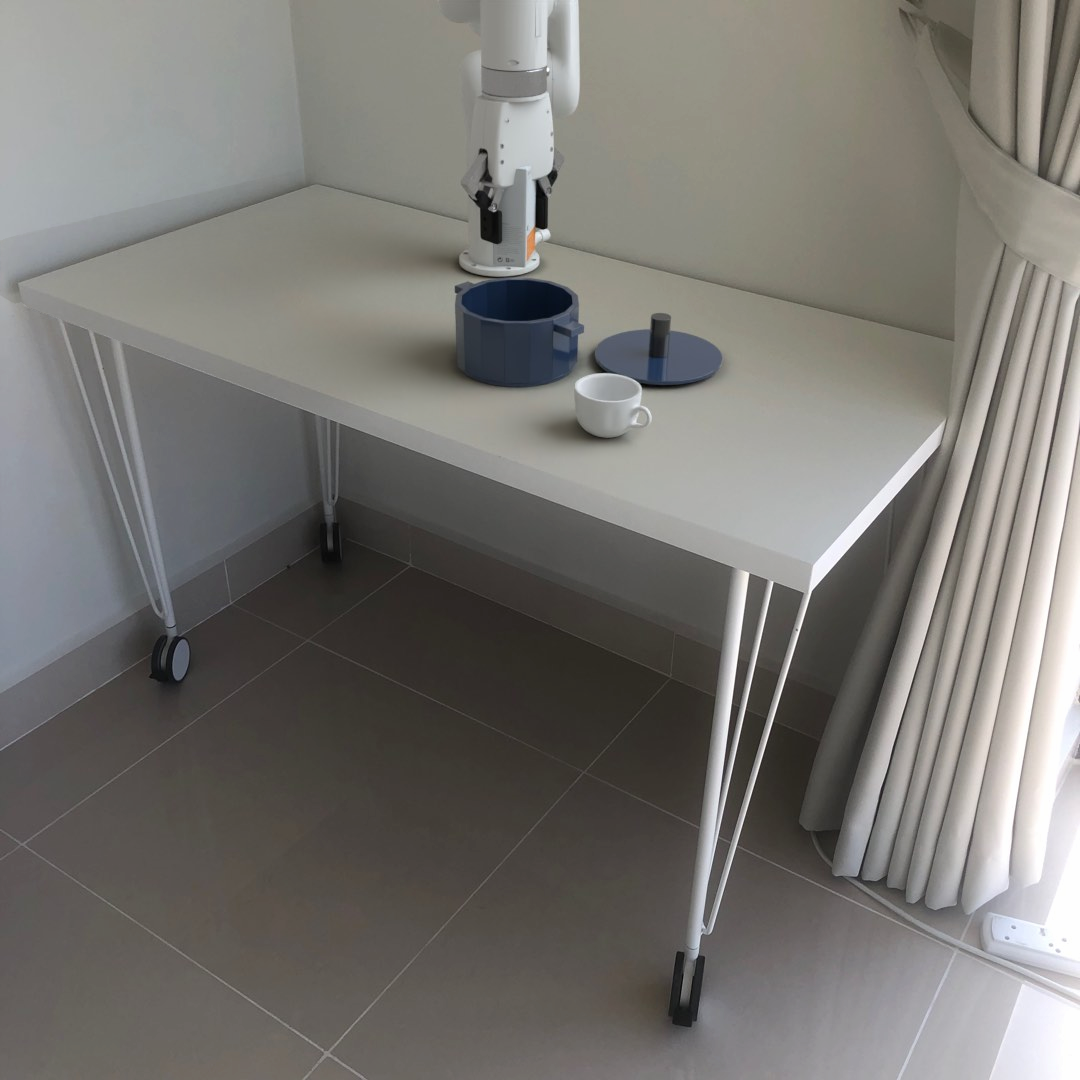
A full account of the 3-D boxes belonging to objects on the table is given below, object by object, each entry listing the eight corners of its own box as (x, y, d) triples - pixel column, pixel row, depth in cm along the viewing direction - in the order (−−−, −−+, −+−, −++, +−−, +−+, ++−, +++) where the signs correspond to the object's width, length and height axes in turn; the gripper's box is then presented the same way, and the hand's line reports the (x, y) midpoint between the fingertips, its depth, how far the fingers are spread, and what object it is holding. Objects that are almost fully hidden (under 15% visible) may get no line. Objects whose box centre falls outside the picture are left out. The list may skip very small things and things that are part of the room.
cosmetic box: (526, 269, 142) (526, 169, 136) (492, 266, 143) (491, 167, 136) (536, 252, 147) (537, 156, 141) (503, 250, 148) (502, 153, 141)
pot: (503, 322, 163) (503, 264, 159) (616, 367, 151) (619, 305, 147) (419, 354, 154) (415, 293, 149) (532, 405, 142) (533, 340, 137)
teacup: (559, 430, 136) (560, 388, 133) (598, 408, 141) (600, 367, 138) (629, 457, 131) (632, 414, 128) (667, 433, 136) (671, 391, 133)
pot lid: (649, 326, 163) (652, 283, 159) (747, 362, 153) (752, 316, 150) (568, 361, 153) (569, 316, 149) (667, 401, 143) (671, 354, 140)
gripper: (543, 66, 141) (541, 212, 151) (435, 88, 131) (441, 243, 140) (589, 76, 137) (584, 225, 146) (481, 99, 126) (483, 258, 136)
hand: (514, 233), depth 143 cm, fingers closed on cosmetic box, 7 cm apart
